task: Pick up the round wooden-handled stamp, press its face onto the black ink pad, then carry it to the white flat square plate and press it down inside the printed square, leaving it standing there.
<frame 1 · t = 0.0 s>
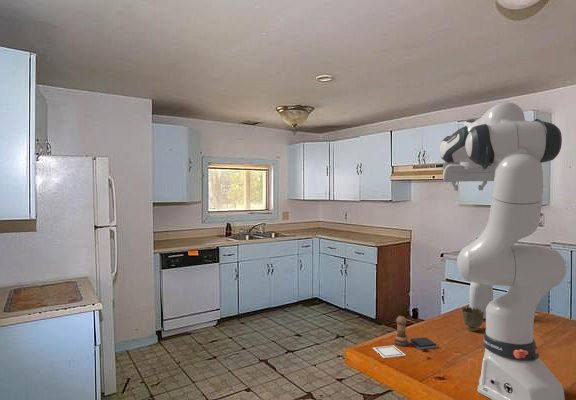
hand: (468, 189, 154), 54 cm above the table, tool tilted 30°, fingers open, 8 cm apart
white flat square plate: (388, 351, 125), on the table
ink pad: (423, 344, 131), on the table
stamp: (401, 343, 131), on the table
cup: (472, 330, 144), on the table
soap bottle: (482, 318, 158), on the table
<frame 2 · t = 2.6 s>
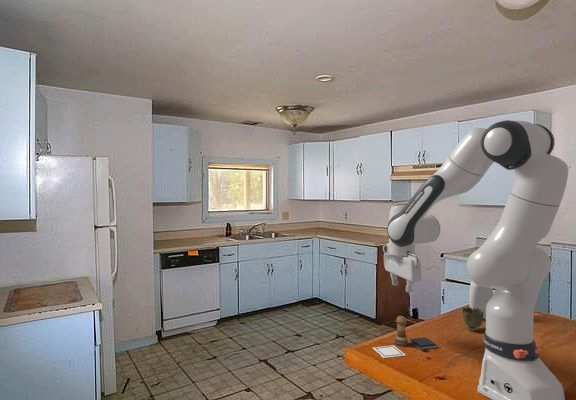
hand: (401, 288, 132), 19 cm above the table, tool pointing down, fingers open, 8 cm apart
nothing on the table moved.
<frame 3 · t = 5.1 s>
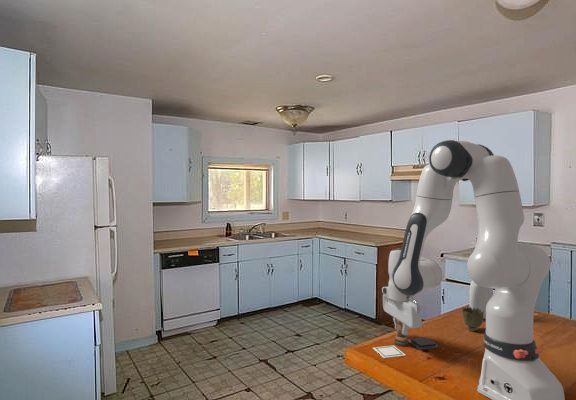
hand: (401, 332, 131), 4 cm above the table, tool pointing down, fingers closed on stamp, 3 cm apart
stamp: (401, 343, 131), on the table, touching gripper
everything else where it was.
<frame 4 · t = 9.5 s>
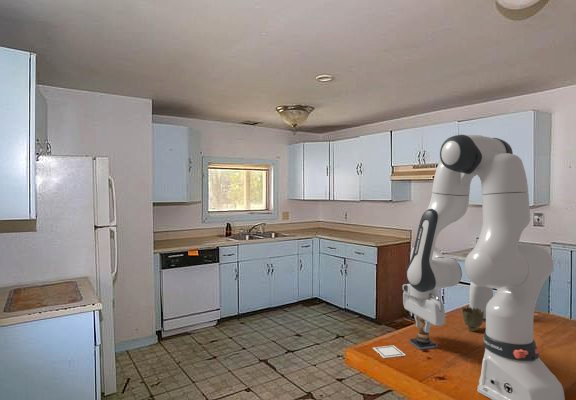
hand: (423, 329, 131), 5 cm above the table, tool pointing down, fingers closed on stamp, 3 cm apart
stamp: (423, 341, 131), point 1 cm above the table, touching gripper, ink pad
everything else where it was.
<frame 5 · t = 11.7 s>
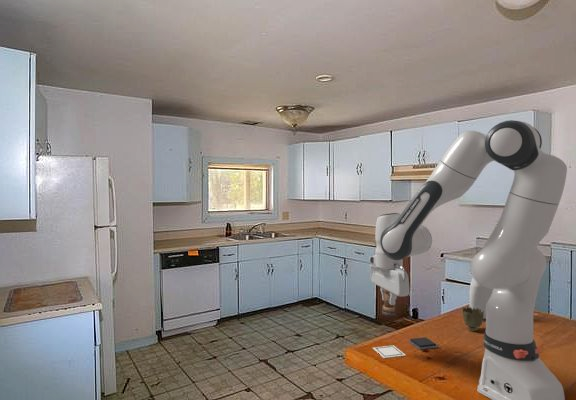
hand: (388, 302, 125), 17 cm above the table, tool pointing down, fingers closed on stamp, 3 cm apart
stamp: (388, 314, 125), point 13 cm above the table, touching gripper
everything else where it was.
when the fingers open (4 cm above the table, at t = 14.0 s): stamp stays where it is, resting on white flat square plate.
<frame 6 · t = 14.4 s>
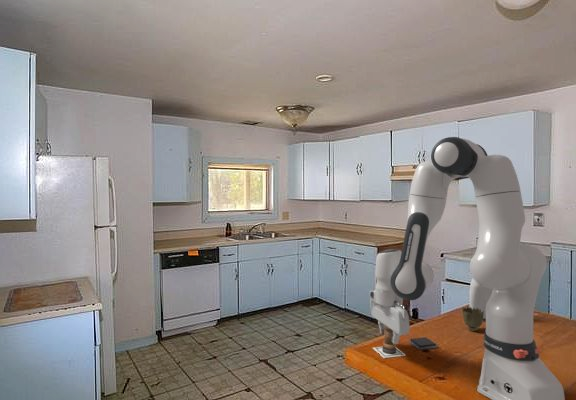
hand: (388, 338, 125), 4 cm above the table, tool pointing down, fingers open, 7 cm apart
stamp: (389, 351, 125), resting on white flat square plate
everything else where it was.
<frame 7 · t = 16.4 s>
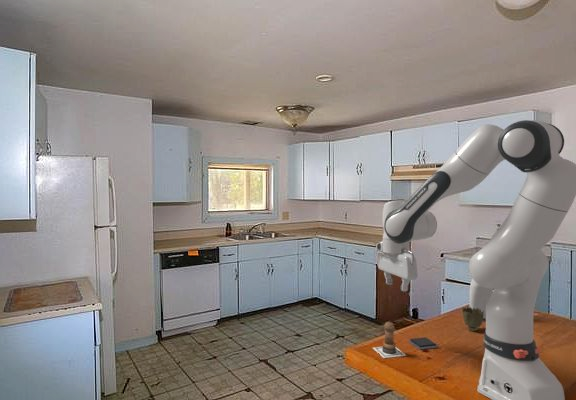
hand: (396, 287, 127), 21 cm above the table, tool pointing down, fingers open, 8 cm apart
nothing on the table moved.
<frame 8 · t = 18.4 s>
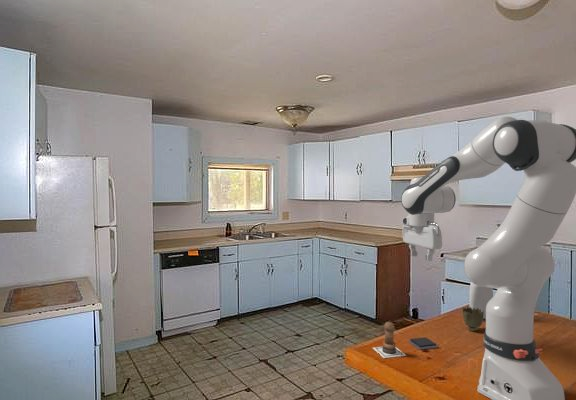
hand: (421, 258, 137), 29 cm above the table, tool pointing down, fingers open, 8 cm apart
nothing on the table moved.
at the end: stamp 0.1 cm off-centre on the white flat square plate, point 0.2 cm above the white flat square plate's base; stamp tilted 0°; the gripper is holding nothing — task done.
